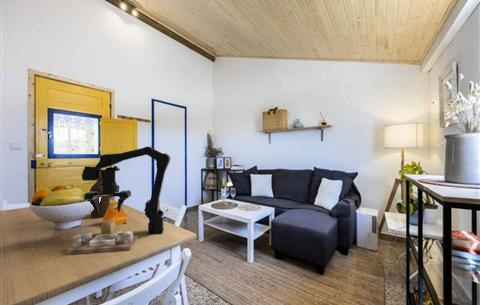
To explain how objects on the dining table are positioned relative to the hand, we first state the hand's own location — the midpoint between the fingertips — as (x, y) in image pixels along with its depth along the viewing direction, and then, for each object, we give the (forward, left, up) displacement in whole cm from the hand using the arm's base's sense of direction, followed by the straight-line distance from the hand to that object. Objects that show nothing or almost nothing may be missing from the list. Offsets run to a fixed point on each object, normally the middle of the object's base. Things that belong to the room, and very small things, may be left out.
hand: (108, 212), depth 105 cm
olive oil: (+16, -32, -11) cm, 37 cm away
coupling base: (-3, +13, -11) cm, 17 cm away
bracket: (+2, -16, -11) cm, 19 cm away
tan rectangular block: (0, 0, -11) cm, 11 cm away
